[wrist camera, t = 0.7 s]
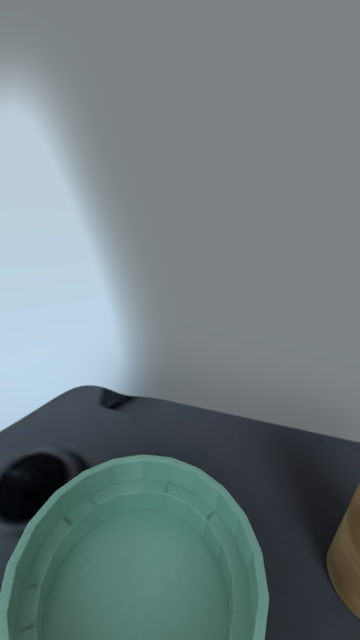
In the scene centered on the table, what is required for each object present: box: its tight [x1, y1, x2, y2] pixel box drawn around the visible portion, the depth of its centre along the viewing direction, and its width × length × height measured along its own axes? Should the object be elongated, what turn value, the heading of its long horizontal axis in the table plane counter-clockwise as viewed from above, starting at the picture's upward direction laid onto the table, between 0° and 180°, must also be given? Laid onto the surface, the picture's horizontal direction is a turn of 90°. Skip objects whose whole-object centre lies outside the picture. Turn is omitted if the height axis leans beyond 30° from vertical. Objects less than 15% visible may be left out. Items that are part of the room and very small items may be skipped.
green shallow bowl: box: [0, 454, 269, 640], centre depth 17 cm, size 13×13×4 cm
